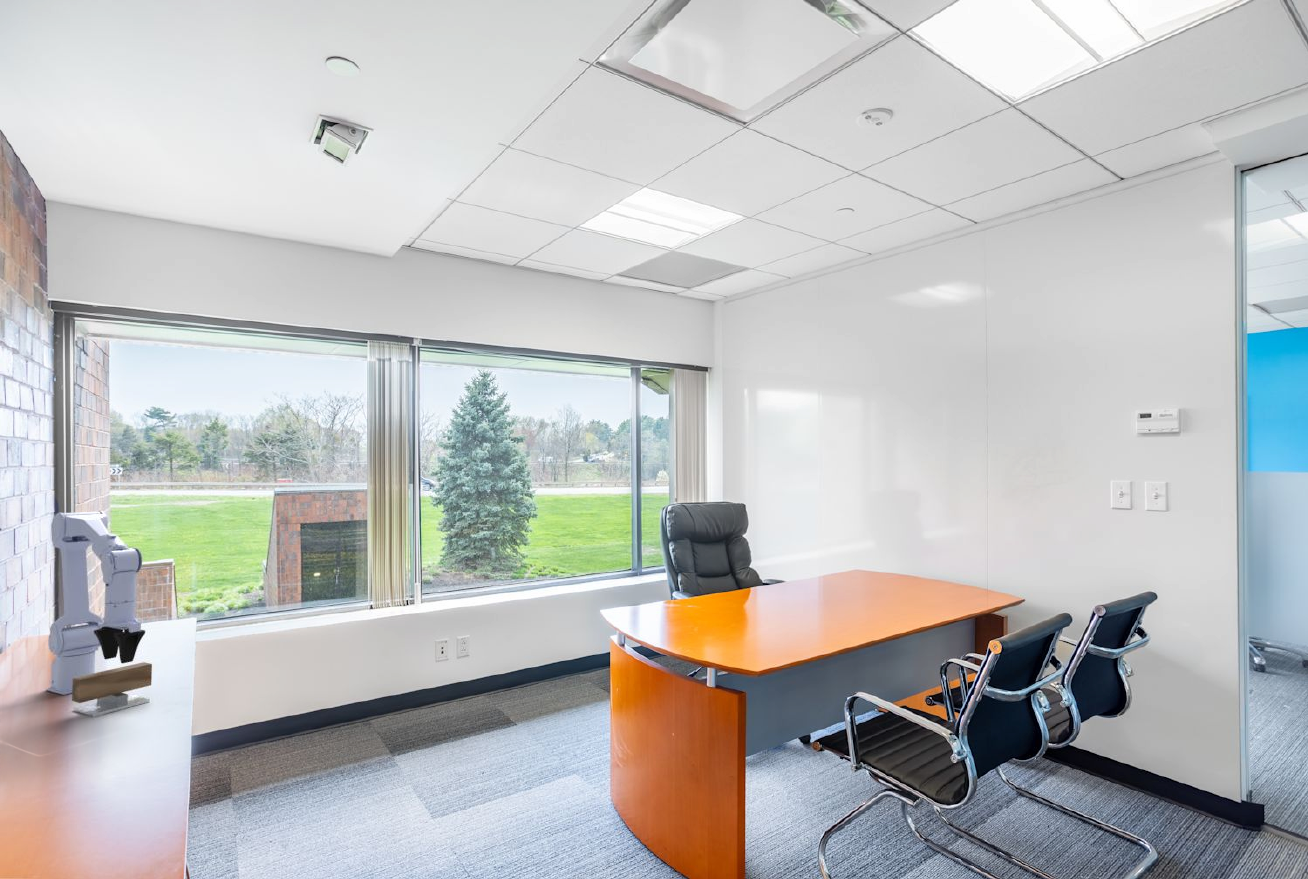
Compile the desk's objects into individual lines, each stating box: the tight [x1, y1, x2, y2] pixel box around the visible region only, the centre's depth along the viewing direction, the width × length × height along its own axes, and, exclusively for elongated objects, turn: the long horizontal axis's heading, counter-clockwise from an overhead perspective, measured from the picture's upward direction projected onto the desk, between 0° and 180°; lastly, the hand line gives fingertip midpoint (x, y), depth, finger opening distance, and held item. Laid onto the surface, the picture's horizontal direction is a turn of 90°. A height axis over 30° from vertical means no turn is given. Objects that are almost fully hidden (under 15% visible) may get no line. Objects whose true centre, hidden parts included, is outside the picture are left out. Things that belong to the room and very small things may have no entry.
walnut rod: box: [71, 661, 153, 704], centre depth 155 cm, size 4×14×5 cm, turn 153°
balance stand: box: [72, 692, 151, 718], centre depth 155 cm, size 9×11×3 cm
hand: (118, 660), depth 157 cm, fingers open, 7 cm apart
